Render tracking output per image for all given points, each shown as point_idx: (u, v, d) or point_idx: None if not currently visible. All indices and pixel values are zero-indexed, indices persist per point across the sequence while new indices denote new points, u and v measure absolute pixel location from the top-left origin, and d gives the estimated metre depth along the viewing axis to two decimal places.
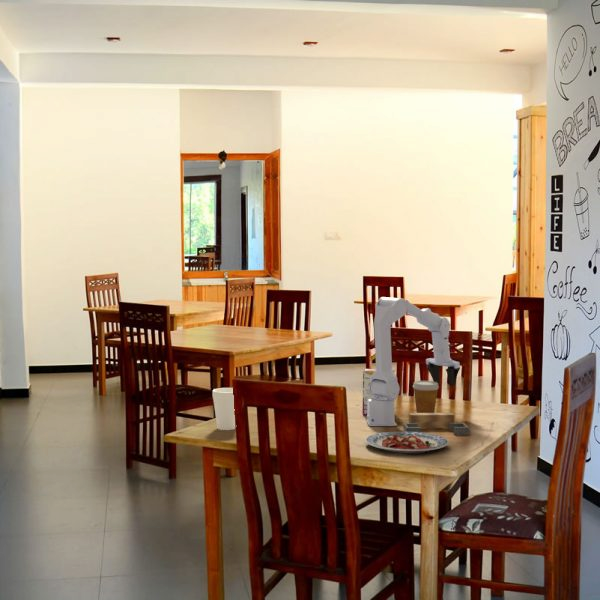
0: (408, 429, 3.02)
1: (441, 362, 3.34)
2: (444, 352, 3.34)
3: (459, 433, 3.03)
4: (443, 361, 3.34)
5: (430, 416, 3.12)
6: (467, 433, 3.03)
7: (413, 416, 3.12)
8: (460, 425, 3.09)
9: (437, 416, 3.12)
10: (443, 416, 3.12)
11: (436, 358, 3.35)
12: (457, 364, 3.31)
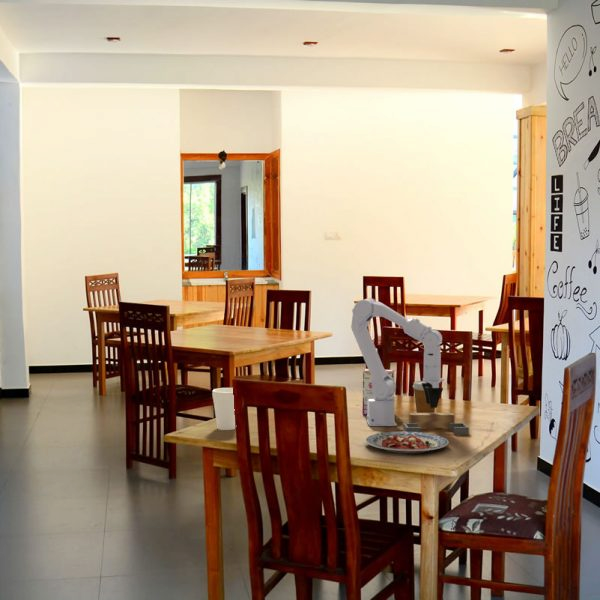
0: (408, 429, 3.02)
1: (425, 379, 3.11)
2: (429, 369, 3.10)
3: (459, 433, 3.03)
4: (427, 378, 3.11)
5: (430, 416, 3.12)
6: (467, 433, 3.03)
7: (413, 416, 3.12)
8: (460, 425, 3.09)
9: (437, 416, 3.12)
10: (443, 416, 3.12)
11: None
12: (435, 383, 3.06)
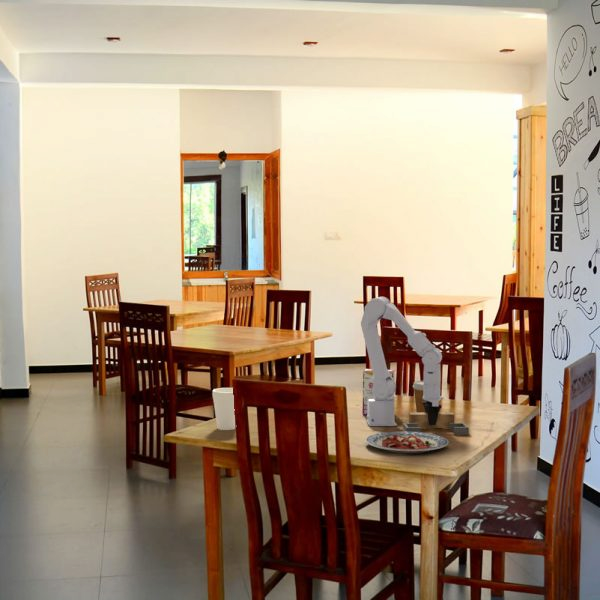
0: (408, 429, 3.02)
1: (425, 397, 3.12)
2: (429, 387, 3.11)
3: (459, 433, 3.03)
4: (427, 396, 3.11)
5: None
6: (467, 433, 3.03)
7: (413, 415, 3.12)
8: (460, 425, 3.09)
9: None
10: (443, 416, 3.12)
11: (423, 392, 3.14)
12: (434, 402, 3.06)
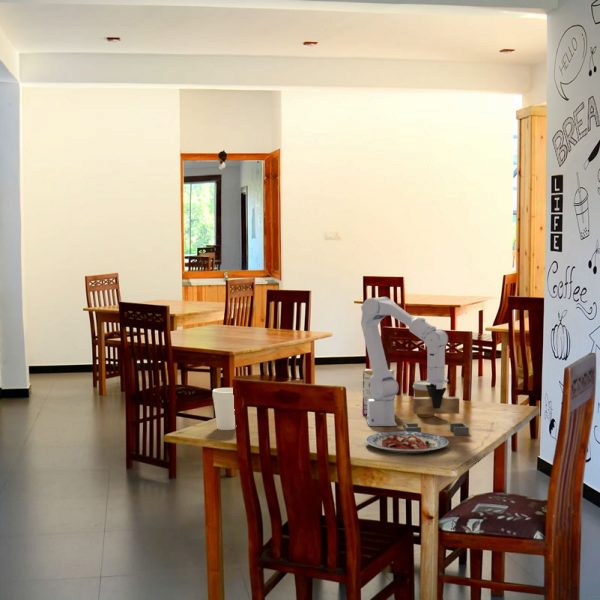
0: (408, 429, 3.02)
1: (429, 380, 3.04)
2: (433, 369, 3.03)
3: (459, 433, 3.03)
4: (431, 379, 3.04)
5: None
6: (467, 433, 3.03)
7: (417, 400, 3.05)
8: (460, 425, 3.09)
9: (442, 400, 3.05)
10: (448, 400, 3.05)
11: (427, 375, 3.06)
12: (439, 384, 2.99)
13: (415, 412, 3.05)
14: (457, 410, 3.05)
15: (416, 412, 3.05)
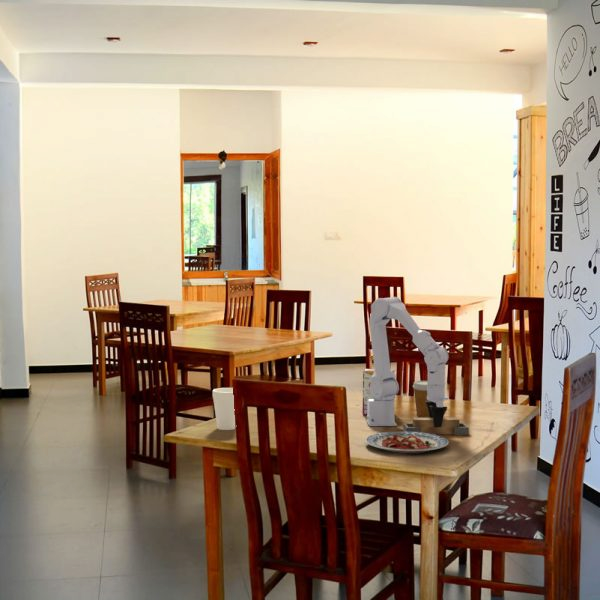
0: (408, 429, 3.02)
1: (429, 397, 3.04)
2: (433, 387, 3.03)
3: (459, 433, 3.03)
4: (431, 397, 3.03)
5: None
6: (467, 433, 3.03)
7: (417, 421, 3.04)
8: (460, 425, 3.09)
9: None
10: (448, 421, 3.04)
11: (427, 392, 3.06)
12: (439, 403, 2.98)
13: None
14: None
15: None
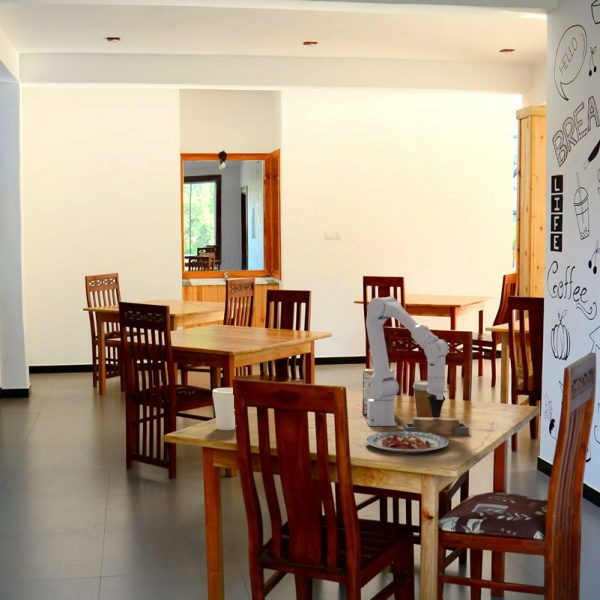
0: (408, 429, 3.02)
1: (429, 390, 3.04)
2: (433, 380, 3.03)
3: (459, 433, 3.03)
4: (431, 389, 3.03)
5: (434, 421, 3.04)
6: (467, 433, 3.03)
7: (416, 420, 3.05)
8: (460, 425, 3.09)
9: (441, 421, 3.04)
10: (447, 421, 3.04)
11: None
12: (439, 395, 2.98)
13: None
14: None
15: None
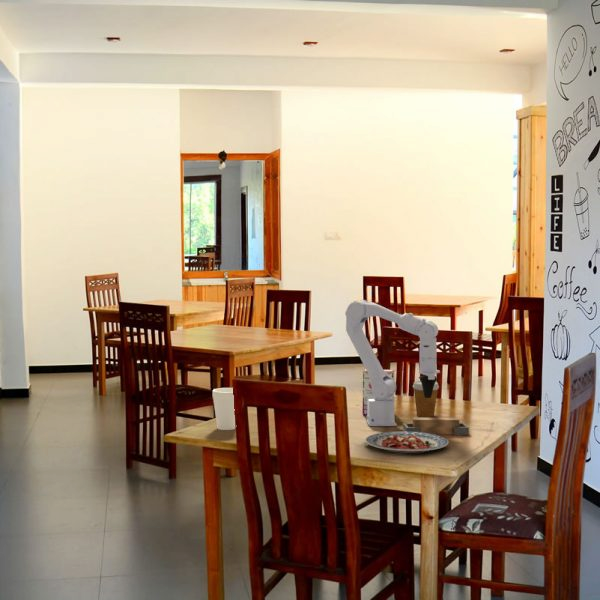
0: (408, 429, 3.02)
1: (421, 371, 3.11)
2: (425, 361, 3.10)
3: (459, 433, 3.03)
4: (423, 370, 3.11)
5: (434, 421, 3.04)
6: (467, 433, 3.03)
7: (417, 421, 3.05)
8: (460, 425, 3.09)
9: (441, 421, 3.04)
10: (448, 421, 3.04)
11: None
12: (430, 375, 3.06)
13: None
14: None
15: None
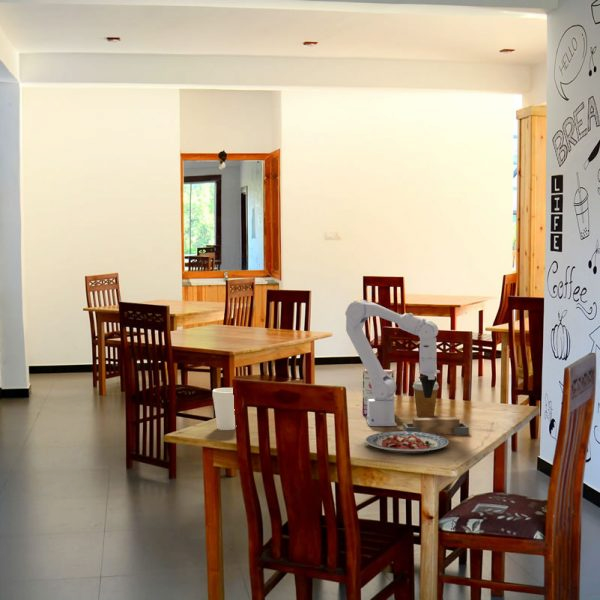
0: (408, 429, 3.02)
1: (421, 371, 3.11)
2: (425, 361, 3.10)
3: (459, 433, 3.03)
4: (423, 370, 3.11)
5: (435, 421, 3.04)
6: (467, 433, 3.03)
7: (418, 421, 3.04)
8: (460, 425, 3.09)
9: (442, 421, 3.05)
10: (448, 421, 3.05)
11: None
12: (430, 375, 3.06)
13: None
14: None
15: None
